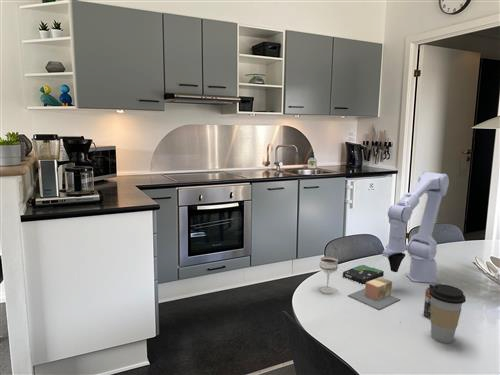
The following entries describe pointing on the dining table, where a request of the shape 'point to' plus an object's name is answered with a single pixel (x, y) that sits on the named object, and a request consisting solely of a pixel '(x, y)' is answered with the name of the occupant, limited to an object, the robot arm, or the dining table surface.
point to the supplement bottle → (428, 300)
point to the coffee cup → (445, 311)
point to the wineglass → (328, 270)
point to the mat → (371, 302)
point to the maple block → (378, 288)
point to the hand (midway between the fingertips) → (394, 271)
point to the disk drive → (363, 274)
